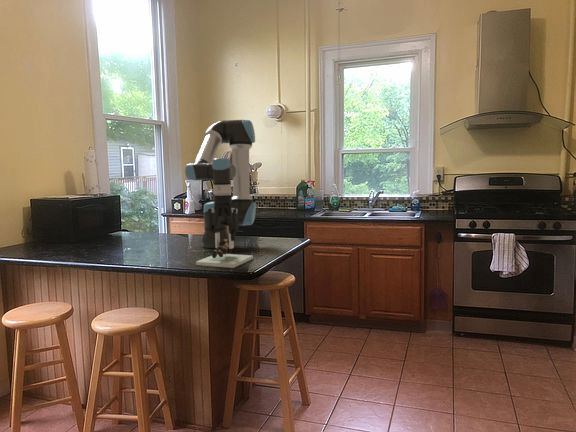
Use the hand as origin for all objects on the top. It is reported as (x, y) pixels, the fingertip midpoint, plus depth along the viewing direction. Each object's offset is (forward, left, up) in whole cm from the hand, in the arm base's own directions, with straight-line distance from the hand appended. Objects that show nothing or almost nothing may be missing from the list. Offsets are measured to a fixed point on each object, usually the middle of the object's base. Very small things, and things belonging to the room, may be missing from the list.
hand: (224, 247), depth 197 cm
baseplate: (0, 0, -6) cm, 6 cm away
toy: (+1, 0, -3) cm, 3 cm away
